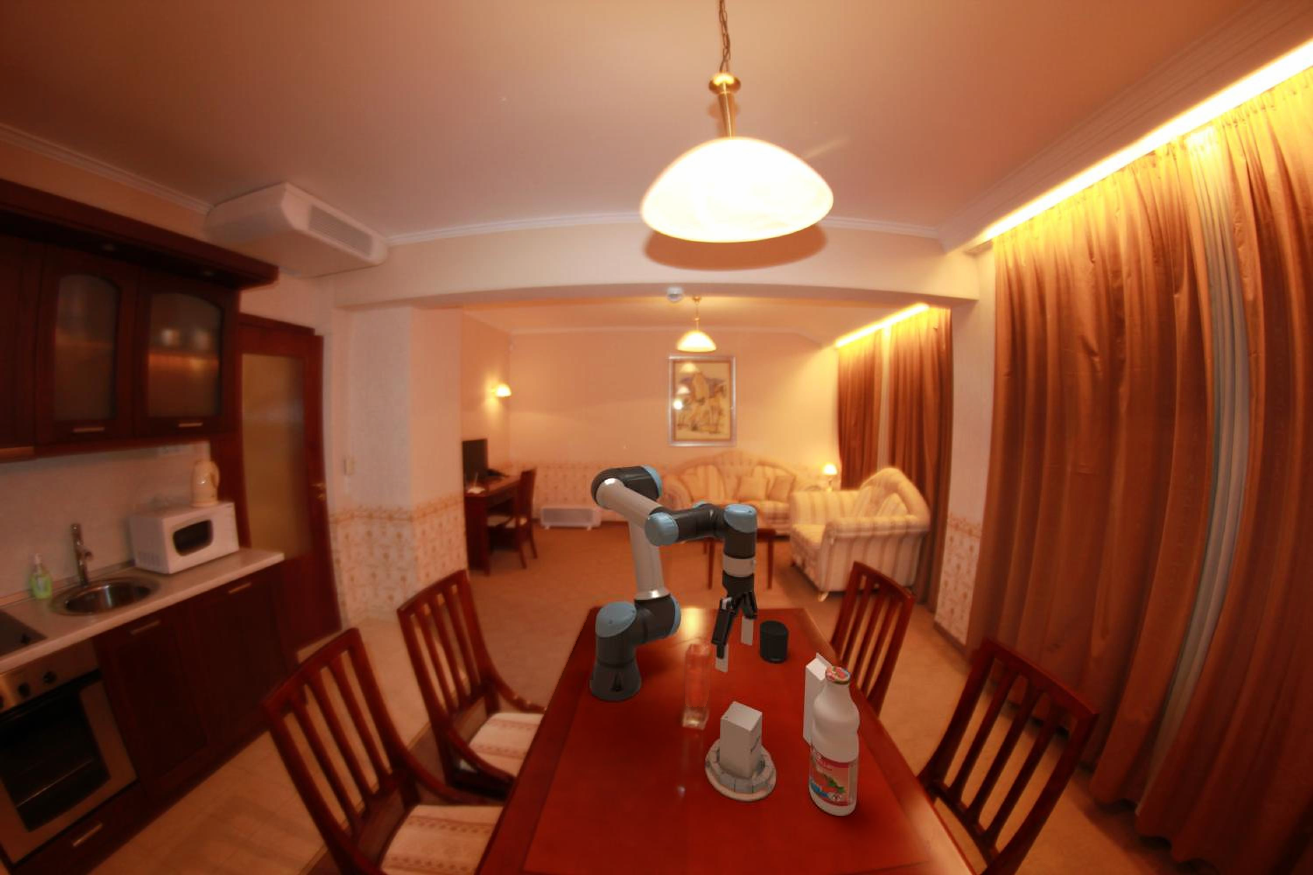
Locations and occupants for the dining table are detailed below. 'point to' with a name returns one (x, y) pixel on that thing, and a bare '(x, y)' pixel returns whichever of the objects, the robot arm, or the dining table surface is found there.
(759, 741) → the supplement box
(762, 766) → the silver round shallow dish
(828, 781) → the fruit juice
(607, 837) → the dining table surface
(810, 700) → the milk
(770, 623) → the black smart speaker
